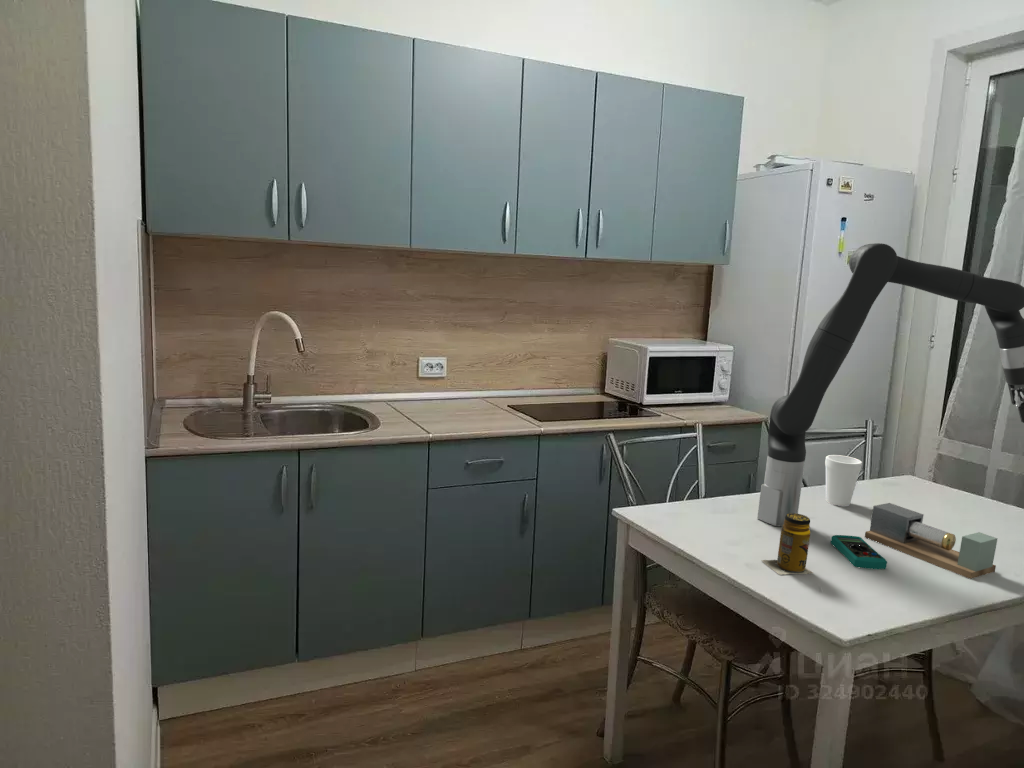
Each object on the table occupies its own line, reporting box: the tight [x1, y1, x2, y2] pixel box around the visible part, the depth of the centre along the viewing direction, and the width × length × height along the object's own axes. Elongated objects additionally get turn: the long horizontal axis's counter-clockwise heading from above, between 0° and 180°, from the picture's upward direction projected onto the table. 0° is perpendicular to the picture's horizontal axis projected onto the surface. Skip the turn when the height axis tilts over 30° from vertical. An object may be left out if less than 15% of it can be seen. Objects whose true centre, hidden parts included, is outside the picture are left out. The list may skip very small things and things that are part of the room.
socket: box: [957, 531, 998, 572], centre depth 166 cm, size 7×4×7 cm, turn 120°
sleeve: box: [869, 502, 924, 544], centre depth 182 cm, size 7×9×7 cm
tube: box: [870, 514, 957, 551], centre depth 179 cm, size 4×19×4 cm, turn 30°
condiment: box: [761, 513, 814, 576], centre depth 162 cm, size 7×8×12 cm
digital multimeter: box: [830, 534, 888, 570], centre depth 172 cm, size 7×15×3 cm, turn 178°
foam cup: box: [824, 454, 863, 507], centre depth 210 cm, size 10×9×13 cm
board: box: [864, 530, 996, 580], centre depth 176 cm, size 10×26×2 cm, turn 30°
